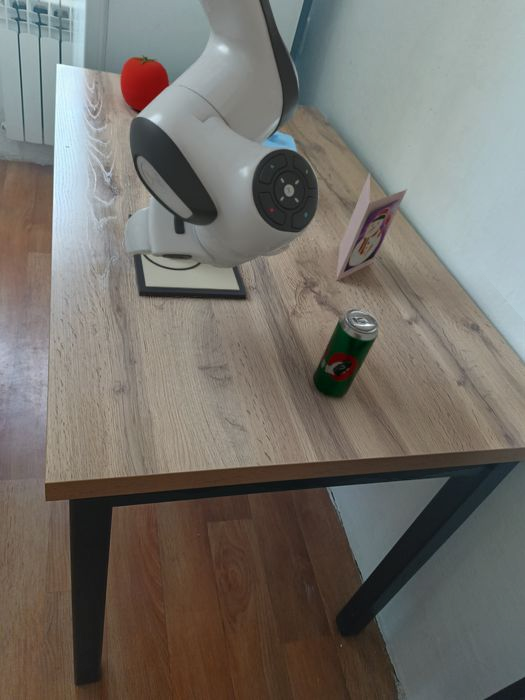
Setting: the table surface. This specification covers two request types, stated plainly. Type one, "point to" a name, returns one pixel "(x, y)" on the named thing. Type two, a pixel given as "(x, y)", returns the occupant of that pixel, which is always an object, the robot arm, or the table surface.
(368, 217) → the greeting card
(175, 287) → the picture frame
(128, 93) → the tomato
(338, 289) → the table surface
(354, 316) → the soda can
